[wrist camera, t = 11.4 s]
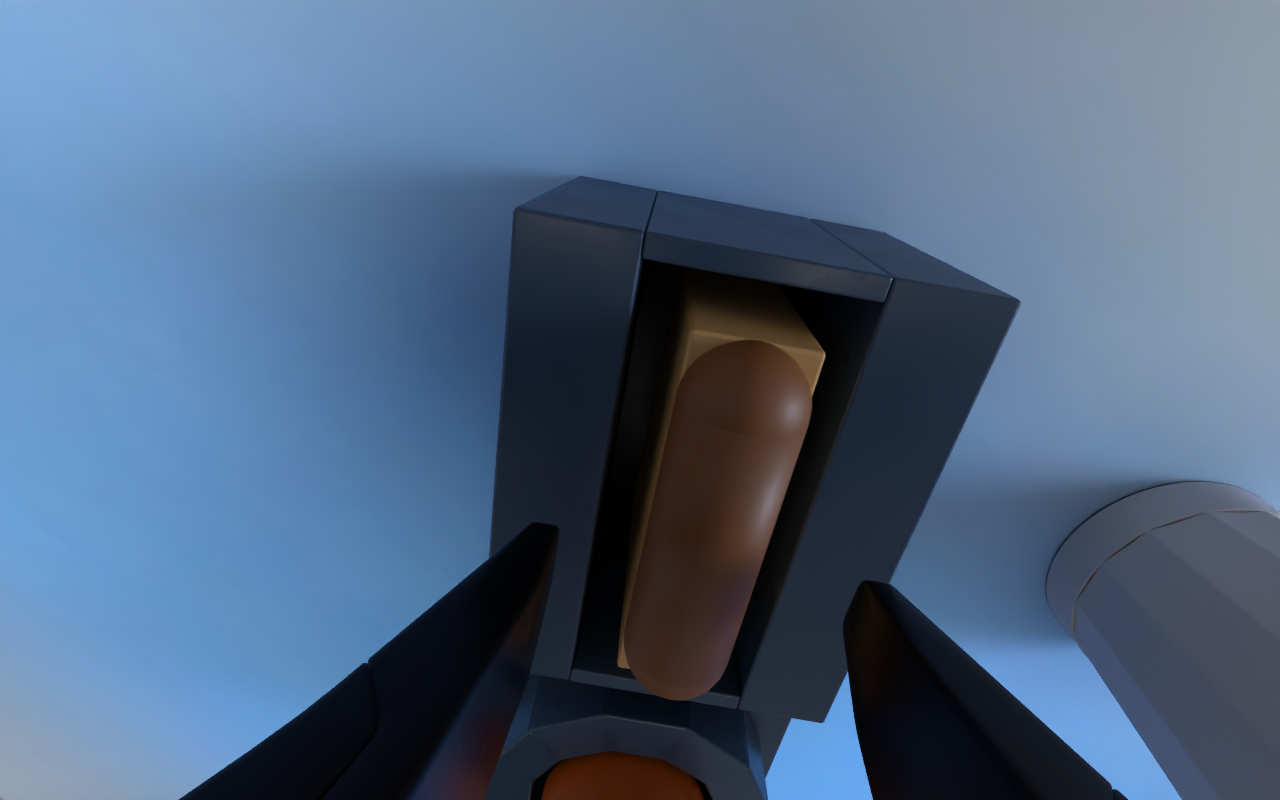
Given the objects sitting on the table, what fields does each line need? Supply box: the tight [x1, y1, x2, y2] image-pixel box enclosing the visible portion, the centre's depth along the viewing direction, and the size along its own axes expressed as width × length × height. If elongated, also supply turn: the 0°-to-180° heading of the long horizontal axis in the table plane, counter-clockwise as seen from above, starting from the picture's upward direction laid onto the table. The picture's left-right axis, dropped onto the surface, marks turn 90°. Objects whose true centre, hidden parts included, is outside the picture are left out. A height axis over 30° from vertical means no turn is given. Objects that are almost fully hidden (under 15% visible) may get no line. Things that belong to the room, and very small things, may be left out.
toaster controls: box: [484, 674, 791, 800], centre depth 17 cm, size 8×8×6 cm
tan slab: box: [617, 266, 825, 701], centre depth 12 cm, size 7×2×6 cm, turn 170°
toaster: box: [489, 176, 1021, 723], centre depth 13 cm, size 9×7×6 cm
